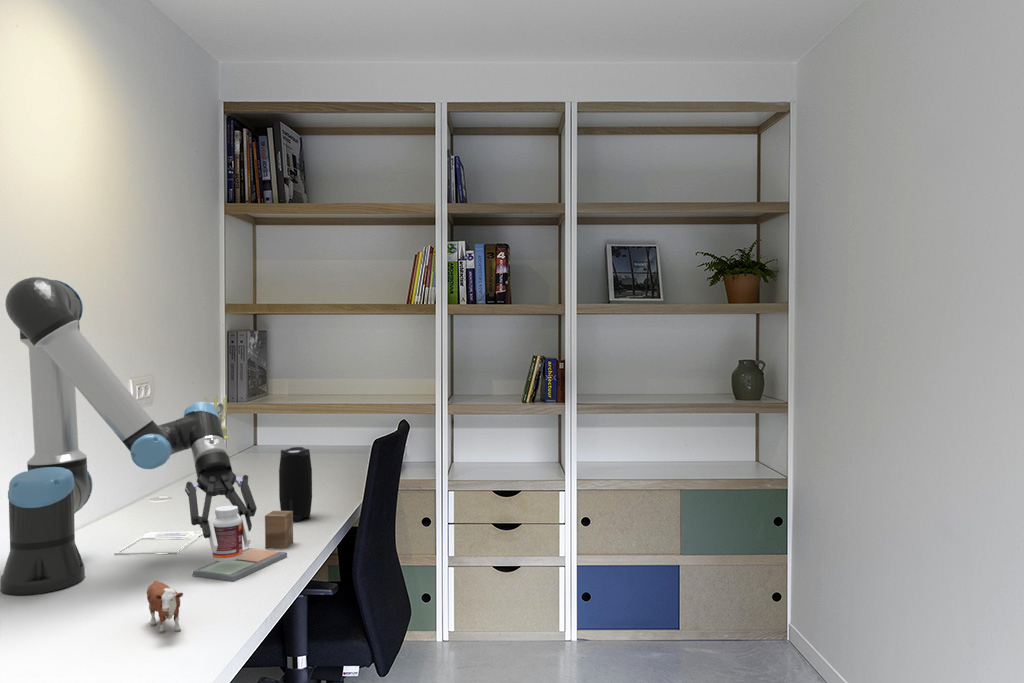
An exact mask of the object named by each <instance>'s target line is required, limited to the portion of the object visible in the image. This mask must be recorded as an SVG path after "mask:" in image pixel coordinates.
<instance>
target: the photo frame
mask: <svg viewBox="0 0 1024 683" xmlns="http://www.w3.org/2000/svg"><path fill="white" fill-rule="evenodd" d="M196 532H201V534H202V533H203V531H202V530H201V531H196ZM201 534H197V536H196V537H198V536H200V535H201ZM189 535H192V536H194V535H196V534H194V531H152V532H151V531H149V532H148V531H147V533H145V534H143V535H141V536H140V537H139V538H137V539H135V540H134V541H132V542H130V543H128V544H127V545H125V546H124V547H122V548H120V549H119V550H117V551H115V552H114V553H113V555H114V556H130V555H129V554H155V553H177V552H178V551H180V550H181V549H182V548H183V547H185V546H186V545H187V544H189V543H190V542H191V541H190V540H189V541H187V542H186V543H185V544H183V545H182V546H181V547H179V548H178V549H177V550H172V551H171V550H169V551H168V550H166V551H165V550H164V551H162V550H161V551H126V550H128V549H129V548H131V547H133V546H134V545H136V544H137V543H136V542H138V541H139V540H141V539H155V538H182V537H192V536H189ZM196 537H194V538H193V539H195V538H196ZM141 541H142V540H141ZM139 542H140V541H139ZM139 542H138V543H139ZM135 543H136V544H135ZM133 544H134V545H133ZM132 545H133V546H132ZM130 546H131V547H130ZM127 548H128V549H127ZM125 549H126V550H125ZM124 550H125V551H124ZM122 551H123V552H122Z"/></svg>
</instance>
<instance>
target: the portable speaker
mask: <svg viewBox="0 0 1024 683" xmlns="http://www.w3.org/2000/svg"><path fill="white" fill-rule="evenodd" d="M310 452H311V451H310V449H309V448H304V447H303V446H295V447H294V446H293V447H290V448H287V449H281V450H280V457H279V458H280V459H279V468H278V487H279V488H278V492H279V493H278V494H279V496H278V498H279V507H280V511H293V523H297V522H300V520H301V519H303V518H304V519H305V518H306V519H308V520H309V519H310V518H311V512H312V501H313V470H312V468H313V467H312V461H311V453H310Z"/></svg>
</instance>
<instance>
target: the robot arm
mask: <svg viewBox="0 0 1024 683" xmlns="http://www.w3.org/2000/svg"><path fill="white" fill-rule="evenodd" d="M4 305H5V310H6V313H7V316H8V317H9V319H10V321H12V323H13V324H14V326H16V327H17V328H18V330H19V339H20V342H21V343H23V344H24V345H25V346H26V347H27V348H28V356H29V357H28V358H29V359H28V360H29V374H30V391H31V392H30V393H31V396H30V397H31V410H32V427H33V428H32V429H33V444H34V448H33V449H34V453H33V455H32V457H31V458H29V459H28V461H26V462H27V463H26V464H27V466H26V468H27V471H22V472H20V473H18V474H16V475H14V476H13V477H12V478H11V479H10V481H9V484H8V490H7V499H8V516H9V518H8V520H9V522H8V523H9V524H8V525H9V526H8V527H9V553H8V556H7V560H6V562H5V566H4V568H3V573H2V575H1V576H0V591H1V592H2V593H4V594H7V595H14V596H16V595H17V596H22V595H23V596H25V595H28V596H29V595H37V594H38V595H39V594H44V593H49V592H53V591H57V590H62V589H66V588H68V587H71V586H73V585H74V586H75V585H77V584H79V582H82V581H83V580H85V578H86V569H85V568H86V567H85V563H84V562H83V560H82V556H81V554H80V551H79V549H78V547H77V544H76V537H75V536H76V534H75V533H76V532H75V531H76V530H75V526H76V524H75V514H76V513H77V512H79V511H80V510H81V509H82V508H83V507H84V506H85V505H86V504H87V503H88V501H89V499H90V498H91V494H92V491H93V484H94V483H93V478H92V476H91V474H90V472H89V471H88V459H87V454H85V453H84V452H83V451H81V450H80V449H79V433H78V432H79V429H78V417H77V416H78V415H77V414H78V413H77V396H76V389H77V390H78V391H79V392H80V394H81V395H82V396H83V398H84V399H86V401H87V402H88V403H89V405H90V406H91V407H93V410H95V411H96V413H97V414H98V415H99V416H100V417H101V419H102V420H103V421H104V422H105V423H106V424H107V426H109V428H110V429H111V430H112V432H113V433H114V434H115V435H116V436H117V437H118V438H119V440H120V441H121V442H122V443H123V444H124V446H125V447H126V449H127V450H128V451H129V452H130V457H131V460H132V462H133V463H134V464H135V465H136V466H138V467H139V468H141V469H144V470H155V469H157V468H159V467H161V466H163V465H164V464H166V463H167V461H168V460H169V459H170V457H171V456H172V455H175V454H177V453H181V452H182V451H185V450H189V449H191V454H192V458H193V464H194V468H195V474H196V477H197V479H196V481H193V482H191V481H187V482H186V484H185V487H184V491H185V493H186V496H188V505H189V513H190V524H191V525H192V526H197V525H199V528H201V531H203V535H202V536H203V538H204V539H209V544H210V545H209V546H210V549H211V553H212V554H213V553H215V552H216V550H217V547H218V544H217V539H216V535H215V530H214V525H213V519H209V516H210V511H211V510H210V509H211V505H212V504H211V503H212V498H213V497H217V496H224V497H225V499H228V501H229V502H230V504H231V506H237V507H238V514H237V515H238V516H239V517H240V518H241V519H242V541H243V543H244V544H243V545H244V547H245V548H250V544H251V541H252V538H251V535H250V532H251V529H252V528H253V524H252V520H251V517H254V516H255V515H256V512H257V505H256V503H255V500H254V497H253V494H252V491H251V488H250V485H249V475H247V474H244V475H242V476H237V475H236V474H235V473H234V472H233V468H232V464H231V460H230V456H229V451H228V448H227V444H226V439H225V440H224V436H223V431H222V427H221V422H220V419H219V416H218V413H217V410H216V408H215V406H214V405H213V404H211V403H212V402H209V401H208V402H207V401H206V402H205V401H198V402H197V401H196V402H194V403H191V404H190V406H187V407H186V408H185V409H184V411H183V417H180V418H179V419H175V420H172V421H168V422H165V423H162V424H157V423H156V422H155V421H154V420H153V418H152V417H151V415H150V414H149V413H148V412H147V411H146V410H145V409H144V407H143V406H142V405H141V403H139V400H137V399H136V397H135V396H134V395H133V393H132V392H130V391H129V389H128V388H127V387H126V385H124V383H123V382H122V381H121V379H120V378H119V377H118V376H117V374H116V373H115V372H114V371H113V370H112V369H111V367H110V366H109V365H108V363H107V362H106V361H105V359H104V358H102V356H101V355H100V354H99V353H98V351H97V350H96V349H95V347H93V346H92V344H91V343H90V342H89V341H88V339H87V338H86V337H85V335H84V334H83V333H82V332H81V328H80V321H81V319H82V316H83V311H84V303H83V300H82V298H81V296H80V295H79V293H78V292H77V291H76V290H75V289H74V288H73V287H72V286H70V285H69V284H68V283H66V282H63V281H61V280H57V279H51V278H50V279H49V278H46V277H42V276H35V277H34V276H33V277H28V278H25V279H24V278H23V279H21V280H20V281H18V282H16V283H15V284H14V285H13V286H11V288H10V289H9V291H8V292H7V294H6V298H5V304H4ZM235 483H236V484H237V486H238V488H240V493H241V496H242V498H243V501H242V499H241V498H240V496H239V494H238V493H237V491H236V490H235V489H236V488H235V486H233V485H234V484H235ZM198 488H199V489H200V490H201V491H202V492H204V493H205V497H204V503H203V508H202V515H199V506H198V499H197V498H198V497H197V496H198V495H197V491H198Z"/></svg>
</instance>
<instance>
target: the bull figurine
mask: <svg viewBox="0 0 1024 683" xmlns="http://www.w3.org/2000/svg"><path fill="white" fill-rule="evenodd" d="M183 596H184V593H183V592H177V590H175V589H173V588H171V587H170V586H168V584H166V583H164V582H161V581H158V580H154V581H153V582H152V583H150V584H149V585H148V587H147V590H146V599H147V602H148V610H149V614H150V615H151V617H150V618H151V619H150V626H152V627H154V626H156V625H157V620H156V619H157V618H156V616H155V614H156V613H155V612H157V613H158V618H159V622H160V627H159V634H164V633H165V632H166V627H165V626H166V625H165V621H166V618H167V619H168V620H171V619H172V618H173V622H174V632H175V633H179V632H181V631H182V628H181V626H180V624H179V621H180V618H179V616H180V607H181V598H182V597H183Z"/></svg>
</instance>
